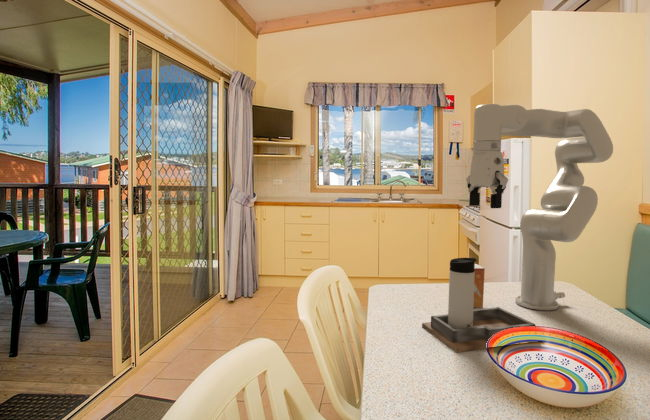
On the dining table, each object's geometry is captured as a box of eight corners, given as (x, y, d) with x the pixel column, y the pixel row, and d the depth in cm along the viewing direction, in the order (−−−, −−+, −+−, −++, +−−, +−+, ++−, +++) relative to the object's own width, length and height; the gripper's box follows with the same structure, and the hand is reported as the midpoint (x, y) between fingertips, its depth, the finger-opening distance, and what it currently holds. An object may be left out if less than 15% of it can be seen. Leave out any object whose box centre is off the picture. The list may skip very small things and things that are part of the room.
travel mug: (475, 337, 102) (478, 261, 100) (448, 335, 103) (451, 259, 101) (471, 328, 108) (474, 256, 106) (446, 326, 109) (448, 255, 107)
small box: (459, 307, 128) (460, 268, 127) (451, 301, 134) (452, 263, 133) (483, 307, 128) (485, 267, 127) (475, 301, 134) (476, 263, 133)
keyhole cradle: (497, 318, 118) (498, 305, 118) (542, 341, 102) (543, 326, 102) (422, 326, 112) (422, 312, 112) (456, 352, 96) (457, 336, 95)
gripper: (519, 146, 108) (516, 209, 109) (479, 150, 125) (477, 204, 126) (495, 145, 106) (493, 209, 108) (458, 149, 123) (456, 204, 124)
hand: (484, 206), depth 117 cm, fingers open, 9 cm apart
